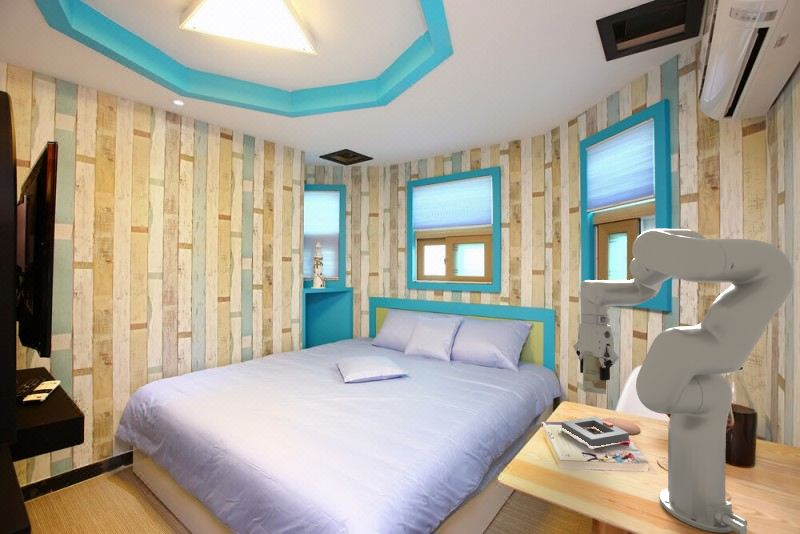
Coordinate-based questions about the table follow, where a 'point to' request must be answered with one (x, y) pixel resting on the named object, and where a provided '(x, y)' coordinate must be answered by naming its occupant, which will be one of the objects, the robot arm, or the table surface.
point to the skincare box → (592, 374)
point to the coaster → (624, 425)
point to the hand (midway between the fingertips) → (594, 375)
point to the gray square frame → (608, 437)
